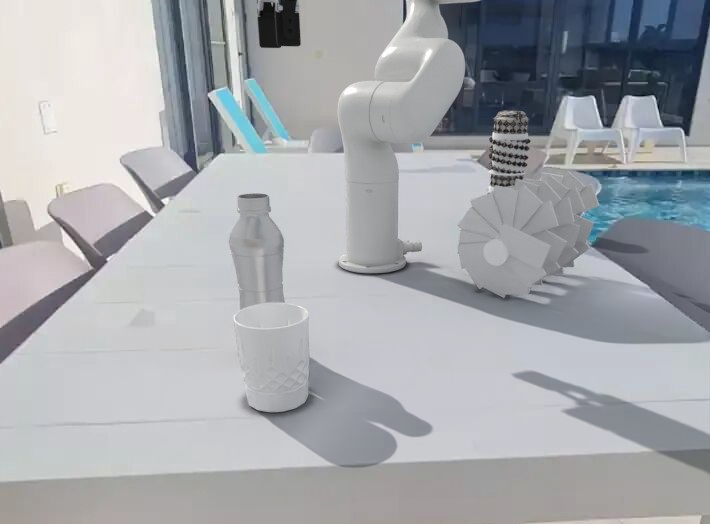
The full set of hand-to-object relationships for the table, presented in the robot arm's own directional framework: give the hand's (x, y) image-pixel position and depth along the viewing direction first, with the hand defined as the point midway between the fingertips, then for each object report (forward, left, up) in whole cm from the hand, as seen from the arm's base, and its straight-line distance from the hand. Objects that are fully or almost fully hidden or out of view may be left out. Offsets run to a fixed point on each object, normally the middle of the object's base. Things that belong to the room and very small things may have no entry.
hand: (279, 47), depth 90 cm
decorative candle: (-60, -30, -36) cm, 76 cm away
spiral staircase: (-38, +10, -36) cm, 54 cm away
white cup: (+12, +35, -36) cm, 52 cm away
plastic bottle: (+10, +22, -36) cm, 44 cm away
